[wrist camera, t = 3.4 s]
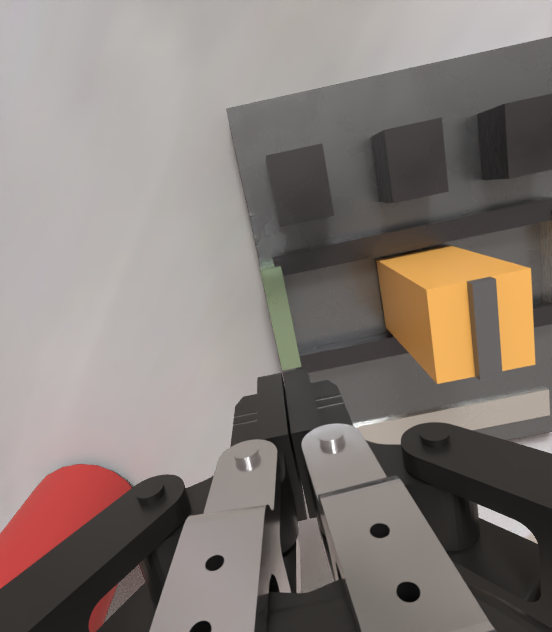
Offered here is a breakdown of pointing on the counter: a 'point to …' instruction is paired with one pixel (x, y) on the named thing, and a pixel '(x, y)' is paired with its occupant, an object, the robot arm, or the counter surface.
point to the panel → (403, 225)
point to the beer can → (59, 520)
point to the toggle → (459, 312)
